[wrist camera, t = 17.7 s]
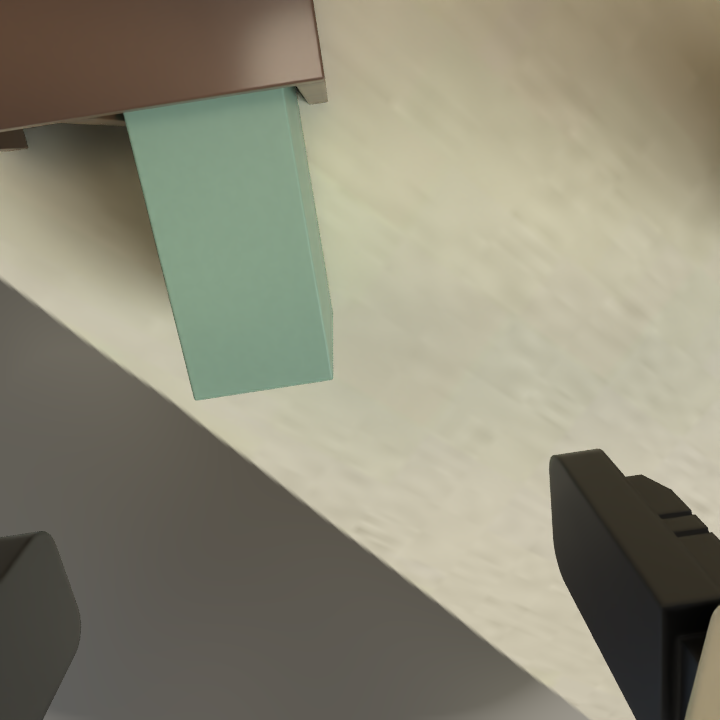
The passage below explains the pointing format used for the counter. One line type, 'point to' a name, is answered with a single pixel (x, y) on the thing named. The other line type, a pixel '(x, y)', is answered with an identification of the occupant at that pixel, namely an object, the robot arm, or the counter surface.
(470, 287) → the counter surface
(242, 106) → the storage box
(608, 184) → the counter surface
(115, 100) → the rack
